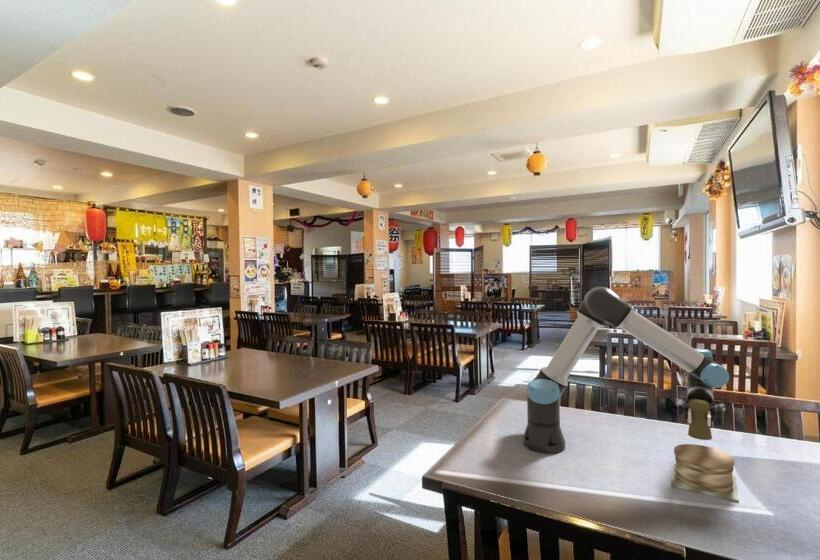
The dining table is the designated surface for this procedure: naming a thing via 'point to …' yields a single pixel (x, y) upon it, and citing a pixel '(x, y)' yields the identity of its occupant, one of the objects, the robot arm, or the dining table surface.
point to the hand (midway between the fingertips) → (699, 420)
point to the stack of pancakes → (704, 471)
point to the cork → (699, 420)
